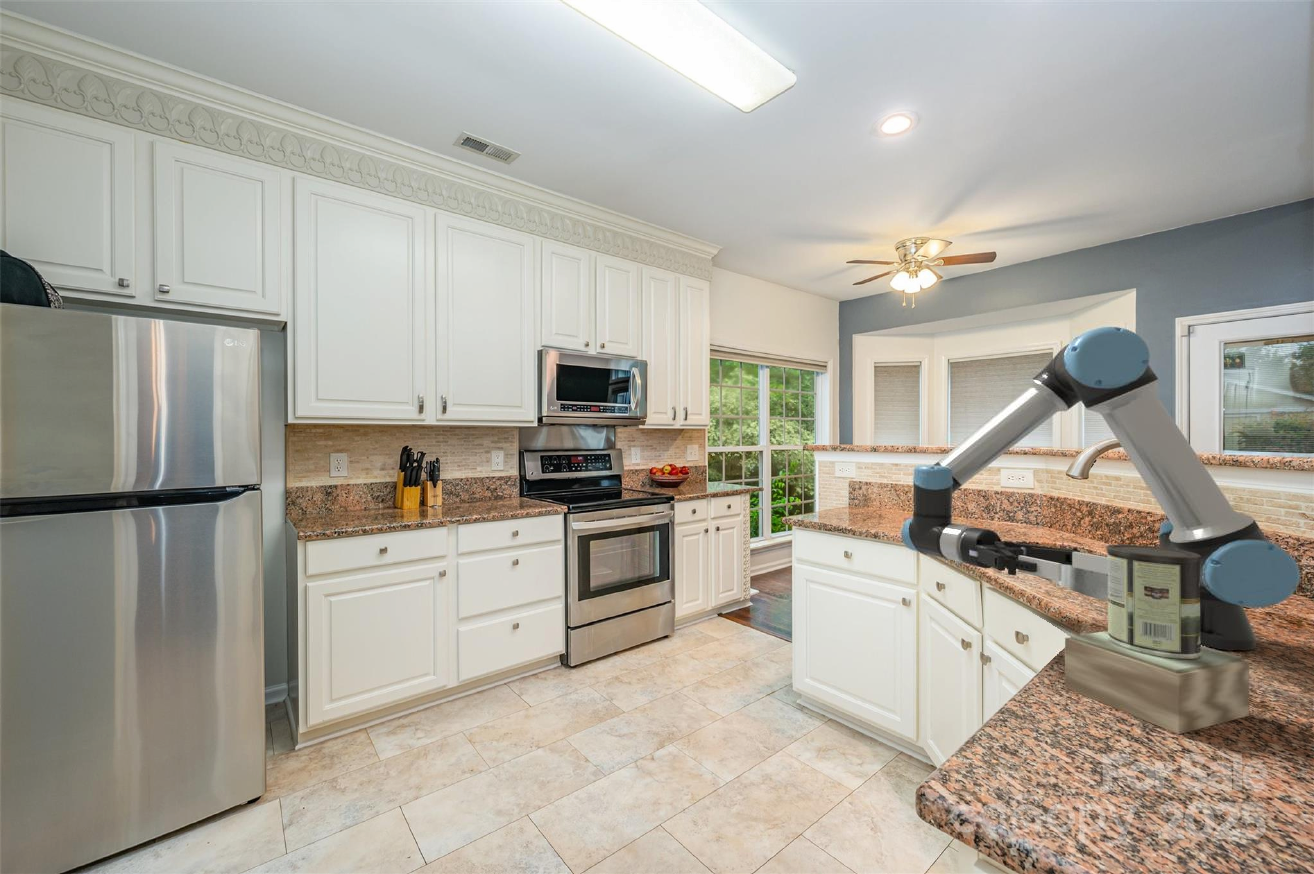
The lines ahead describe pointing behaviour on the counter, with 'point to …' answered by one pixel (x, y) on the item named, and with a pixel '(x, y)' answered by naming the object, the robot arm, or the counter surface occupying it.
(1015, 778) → the counter surface
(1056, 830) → the counter surface
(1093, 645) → the riser
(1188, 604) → the coffee can
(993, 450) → the robot arm
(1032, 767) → the counter surface
